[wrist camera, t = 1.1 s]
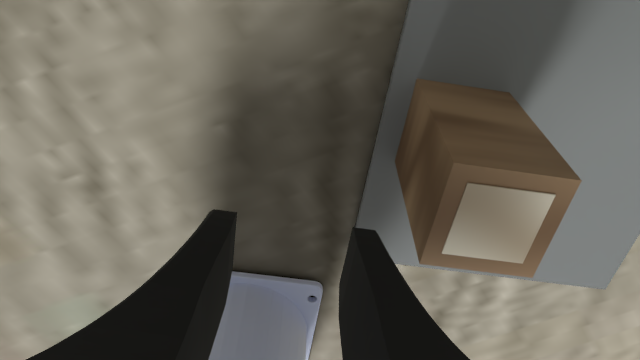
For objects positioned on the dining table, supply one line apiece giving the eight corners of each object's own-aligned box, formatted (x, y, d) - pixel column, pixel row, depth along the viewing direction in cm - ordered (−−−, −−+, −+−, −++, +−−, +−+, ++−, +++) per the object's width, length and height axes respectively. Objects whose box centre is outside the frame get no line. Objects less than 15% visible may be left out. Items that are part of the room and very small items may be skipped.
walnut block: (479, 172, 23) (533, 278, 17) (394, 161, 23) (419, 264, 17) (509, 92, 21) (582, 181, 15) (416, 78, 21) (454, 163, 15)
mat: (601, 284, 27) (605, 289, 27) (348, 253, 26) (349, 258, 26) (789, -25, 19) (798, -23, 19) (430, -89, 18) (432, -88, 18)
